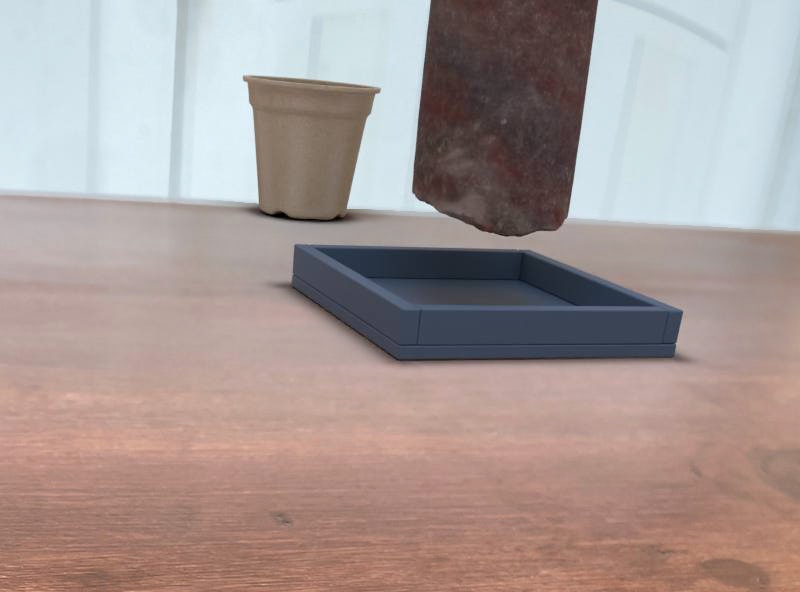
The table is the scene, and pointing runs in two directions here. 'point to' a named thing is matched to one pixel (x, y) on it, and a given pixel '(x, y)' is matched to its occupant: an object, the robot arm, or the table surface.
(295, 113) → the flower pot
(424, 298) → the candle dish
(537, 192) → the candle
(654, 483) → the table surface
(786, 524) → the table surface
